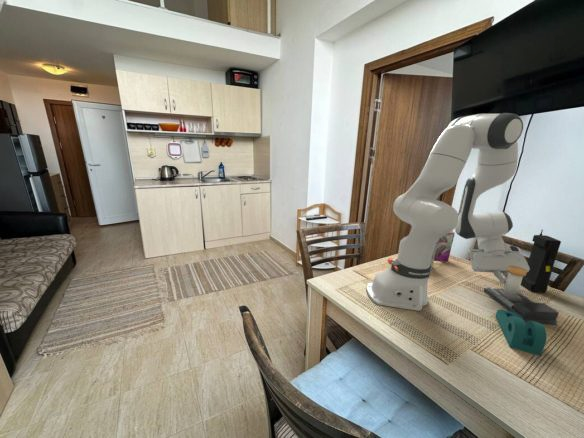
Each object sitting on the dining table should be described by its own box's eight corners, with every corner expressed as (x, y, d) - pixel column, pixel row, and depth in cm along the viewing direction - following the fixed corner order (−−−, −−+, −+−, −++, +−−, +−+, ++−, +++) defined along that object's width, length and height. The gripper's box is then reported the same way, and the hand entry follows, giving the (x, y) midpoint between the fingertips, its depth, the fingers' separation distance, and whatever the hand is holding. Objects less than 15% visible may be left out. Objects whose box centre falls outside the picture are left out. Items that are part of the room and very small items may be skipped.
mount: (483, 291, 98) (486, 281, 97) (508, 292, 98) (512, 282, 96) (524, 323, 80) (528, 311, 79) (556, 324, 79) (560, 312, 78)
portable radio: (549, 295, 97) (569, 236, 90) (531, 293, 98) (550, 235, 91) (534, 284, 104) (552, 230, 97) (518, 283, 105) (535, 228, 99)
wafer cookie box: (424, 260, 126) (430, 230, 122) (422, 256, 131) (427, 227, 126) (448, 262, 124) (455, 232, 119) (445, 258, 128) (451, 229, 124)
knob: (496, 292, 95) (504, 265, 91) (510, 293, 94) (518, 265, 91) (507, 300, 90) (516, 271, 86) (521, 301, 89) (531, 272, 86)
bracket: (540, 356, 67) (549, 333, 65) (509, 347, 70) (516, 324, 68) (517, 318, 82) (524, 298, 80) (492, 312, 85) (498, 293, 83)
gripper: (472, 246, 98) (484, 279, 91) (524, 248, 97) (540, 282, 90) (463, 251, 103) (473, 284, 96) (512, 254, 102) (526, 286, 96)
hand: (506, 283), depth 93 cm, fingers closed, pressing on knob
